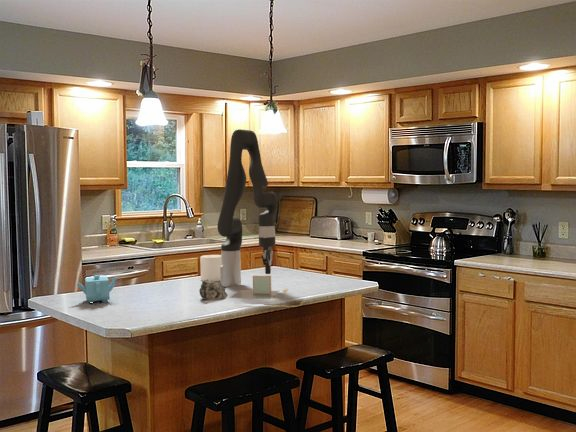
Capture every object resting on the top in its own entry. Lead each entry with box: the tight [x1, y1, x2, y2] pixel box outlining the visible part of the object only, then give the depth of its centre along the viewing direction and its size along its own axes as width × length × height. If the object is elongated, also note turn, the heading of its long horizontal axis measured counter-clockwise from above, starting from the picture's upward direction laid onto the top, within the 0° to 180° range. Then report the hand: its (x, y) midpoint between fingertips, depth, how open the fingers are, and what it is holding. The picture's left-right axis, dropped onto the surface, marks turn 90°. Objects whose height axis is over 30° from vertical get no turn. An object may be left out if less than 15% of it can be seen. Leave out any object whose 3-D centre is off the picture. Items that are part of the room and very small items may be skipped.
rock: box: [198, 279, 228, 301], centre depth 276 cm, size 13×10×10 cm
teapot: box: [76, 274, 120, 303], centre depth 275 cm, size 16×18×11 cm
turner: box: [281, 288, 289, 294], centre depth 285 cm, size 16×4×1 cm, turn 173°
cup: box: [199, 254, 222, 282], centre depth 327 cm, size 12×12×12 cm
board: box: [229, 289, 280, 300], centre depth 282 cm, size 18×18×1 cm
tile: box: [252, 274, 272, 294], centre depth 282 cm, size 8×2×8 cm, turn 78°
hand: (268, 273), depth 291 cm, fingers closed
